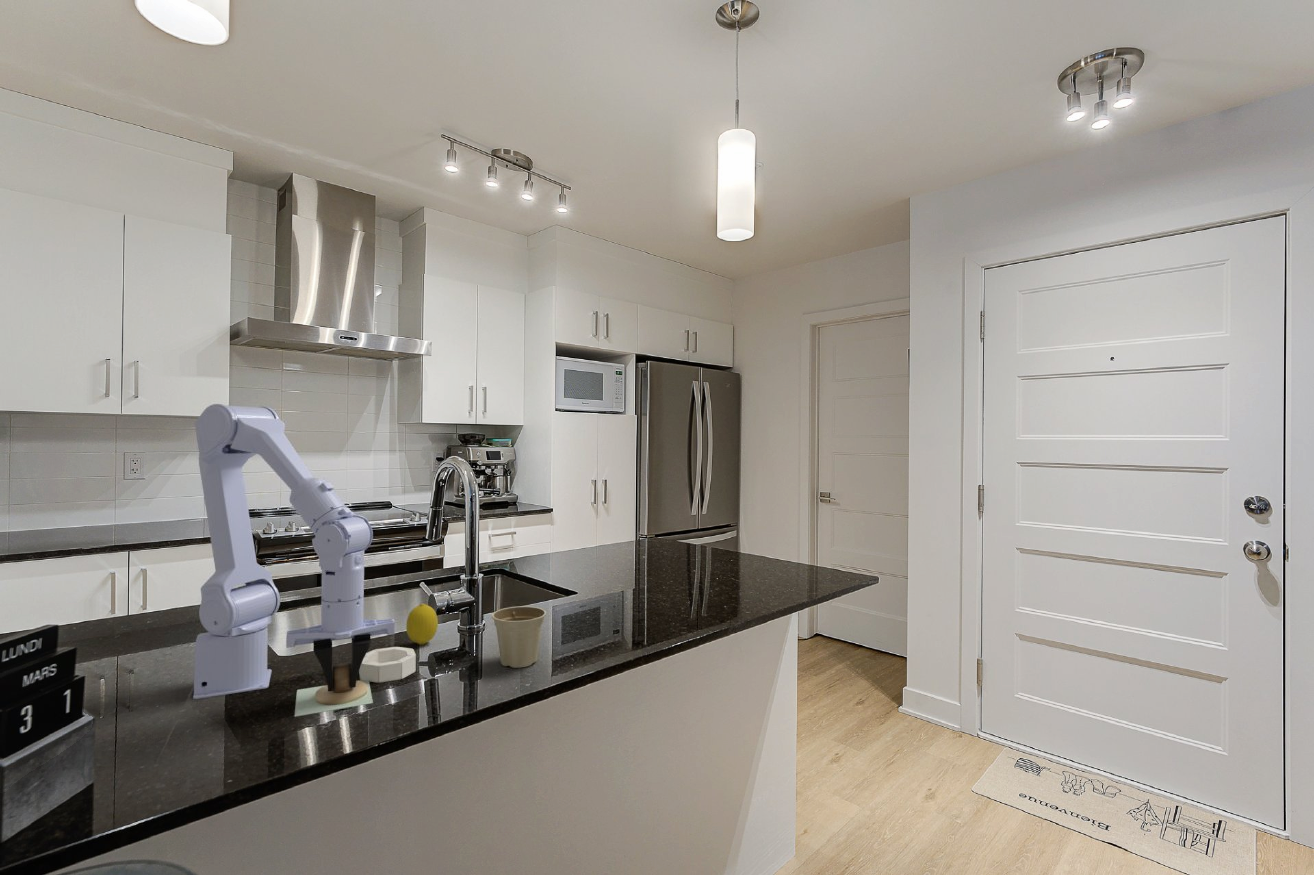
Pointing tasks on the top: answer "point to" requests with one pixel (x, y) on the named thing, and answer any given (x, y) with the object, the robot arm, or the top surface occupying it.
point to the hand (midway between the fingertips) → (341, 687)
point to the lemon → (422, 624)
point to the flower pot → (518, 634)
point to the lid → (341, 688)
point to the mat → (310, 706)
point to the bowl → (388, 664)
